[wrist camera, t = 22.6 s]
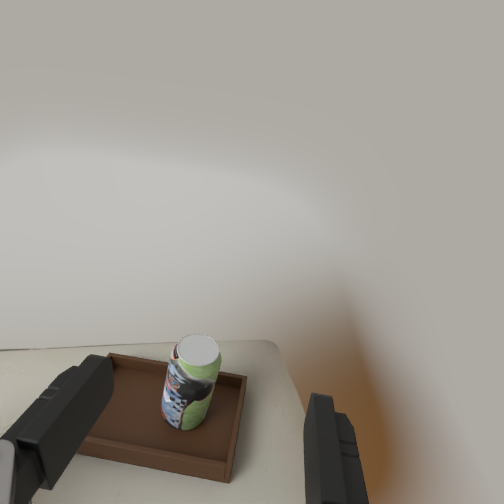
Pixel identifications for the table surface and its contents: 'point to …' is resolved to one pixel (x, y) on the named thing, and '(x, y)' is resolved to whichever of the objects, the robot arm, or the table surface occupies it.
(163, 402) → the beverage can
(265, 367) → the table surface
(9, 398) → the table surface
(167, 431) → the serving tray
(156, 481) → the table surface
